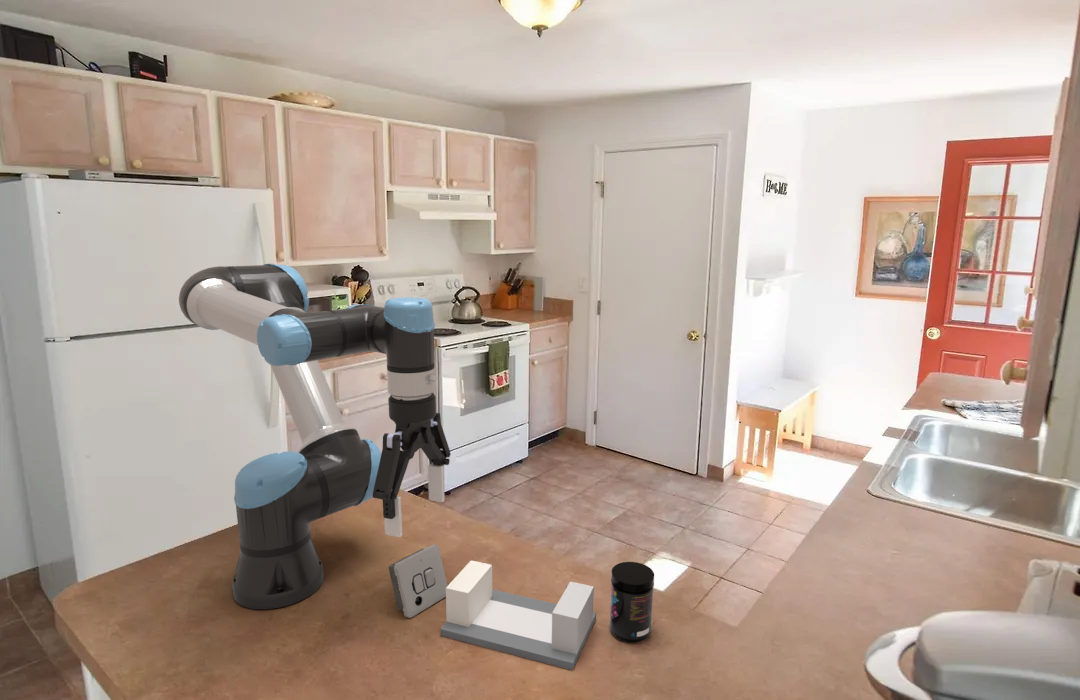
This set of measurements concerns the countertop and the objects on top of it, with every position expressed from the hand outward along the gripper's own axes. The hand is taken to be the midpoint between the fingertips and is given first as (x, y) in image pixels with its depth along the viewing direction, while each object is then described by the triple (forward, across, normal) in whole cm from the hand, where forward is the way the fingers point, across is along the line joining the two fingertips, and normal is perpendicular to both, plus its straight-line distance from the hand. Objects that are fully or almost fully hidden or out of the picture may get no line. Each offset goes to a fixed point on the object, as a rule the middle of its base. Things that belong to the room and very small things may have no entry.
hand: (416, 516), depth 105 cm
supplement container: (+16, +6, -36) cm, 40 cm away
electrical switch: (+16, 0, 0) cm, 16 cm away
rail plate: (+16, 0, -19) cm, 25 cm away
